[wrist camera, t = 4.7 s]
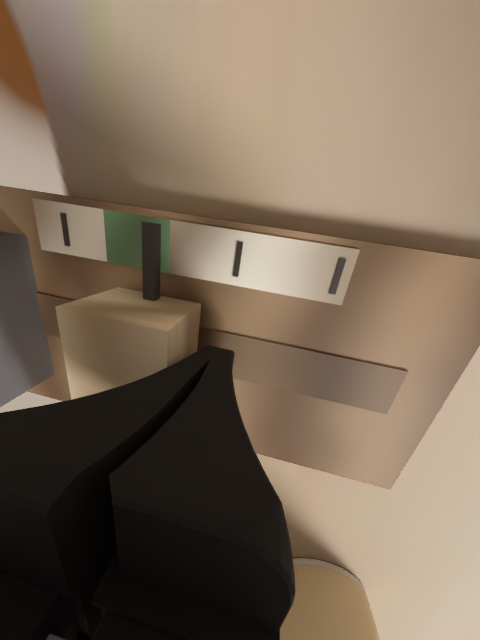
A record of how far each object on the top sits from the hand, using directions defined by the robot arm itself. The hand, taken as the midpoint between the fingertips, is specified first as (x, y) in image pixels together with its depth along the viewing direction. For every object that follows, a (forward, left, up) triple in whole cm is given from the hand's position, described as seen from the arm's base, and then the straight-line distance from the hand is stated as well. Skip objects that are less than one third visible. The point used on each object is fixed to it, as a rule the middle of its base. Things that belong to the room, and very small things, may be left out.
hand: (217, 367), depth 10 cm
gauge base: (+2, +1, -2) cm, 3 cm away
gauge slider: (+3, +1, -1) cm, 4 cm away
